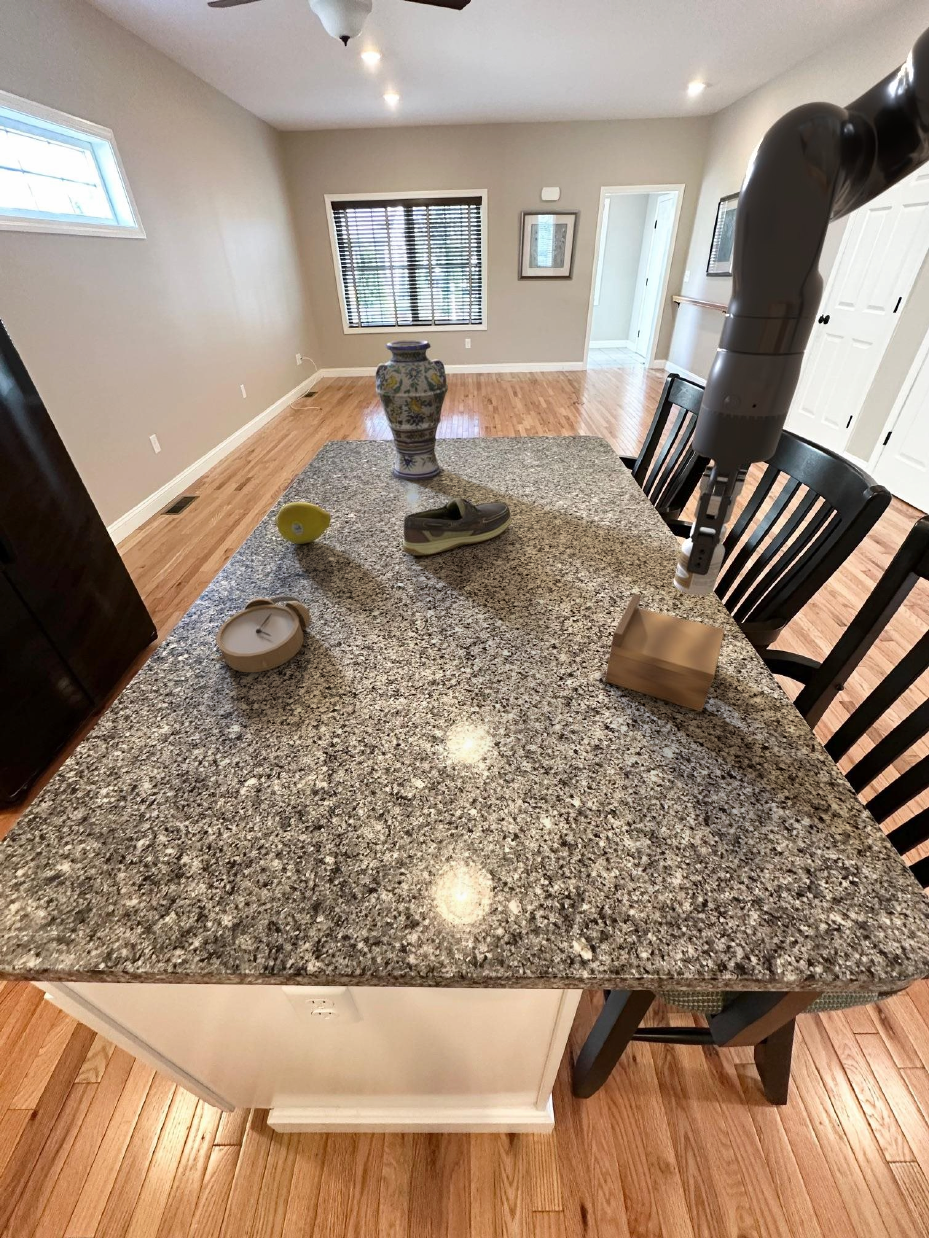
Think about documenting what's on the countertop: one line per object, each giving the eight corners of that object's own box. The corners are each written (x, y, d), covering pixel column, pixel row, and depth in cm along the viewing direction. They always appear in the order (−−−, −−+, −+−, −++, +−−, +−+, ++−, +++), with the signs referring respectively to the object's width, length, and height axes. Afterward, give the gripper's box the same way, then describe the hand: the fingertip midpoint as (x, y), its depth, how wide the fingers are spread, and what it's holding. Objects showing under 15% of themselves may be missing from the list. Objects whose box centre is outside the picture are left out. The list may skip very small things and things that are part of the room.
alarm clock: (198, 652, 69) (251, 580, 79) (212, 675, 72) (262, 603, 83) (274, 662, 67) (319, 586, 77) (285, 685, 70) (327, 610, 81)
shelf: (712, 664, 70) (729, 616, 65) (701, 712, 63) (719, 661, 58) (624, 639, 74) (633, 593, 70) (604, 681, 67) (613, 632, 63)
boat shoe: (522, 528, 106) (524, 490, 101) (423, 567, 93) (420, 526, 88) (492, 514, 111) (493, 478, 107) (395, 549, 99) (391, 510, 94)
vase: (457, 479, 129) (453, 345, 112) (388, 486, 126) (374, 349, 109) (444, 459, 142) (439, 336, 125) (381, 464, 139) (368, 340, 122)
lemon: (271, 548, 100) (261, 509, 95) (290, 530, 106) (282, 494, 102) (323, 552, 98) (316, 513, 93) (339, 534, 104) (333, 497, 100)
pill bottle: (668, 576, 62) (683, 517, 57) (705, 577, 62) (722, 517, 57) (679, 596, 58) (695, 534, 54) (718, 596, 58) (738, 534, 54)
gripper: (787, 425, 42) (728, 601, 52) (791, 391, 52) (742, 543, 62) (690, 416, 45) (652, 583, 55) (712, 385, 55) (677, 531, 65)
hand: (700, 561), depth 58 cm, fingers closed on pill bottle, 4 cm apart
